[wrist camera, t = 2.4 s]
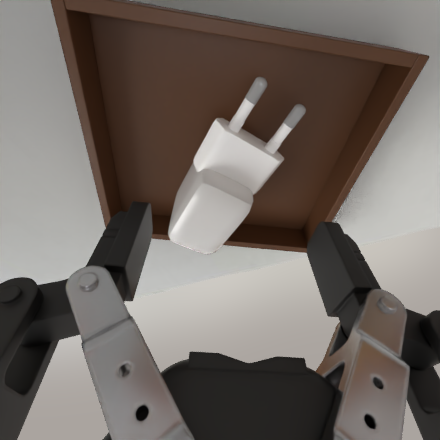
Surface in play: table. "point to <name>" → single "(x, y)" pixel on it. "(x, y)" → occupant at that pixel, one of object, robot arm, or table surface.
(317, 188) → the tray
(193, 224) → the power adapter
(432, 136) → the table surface
